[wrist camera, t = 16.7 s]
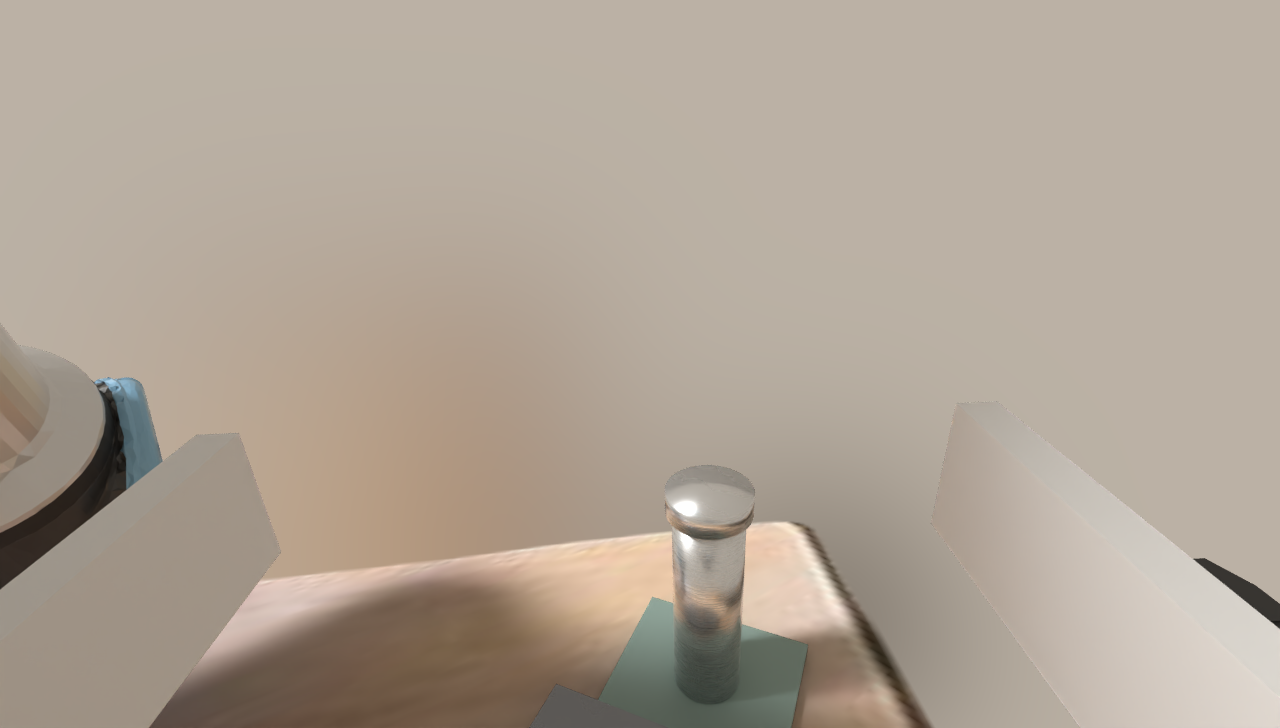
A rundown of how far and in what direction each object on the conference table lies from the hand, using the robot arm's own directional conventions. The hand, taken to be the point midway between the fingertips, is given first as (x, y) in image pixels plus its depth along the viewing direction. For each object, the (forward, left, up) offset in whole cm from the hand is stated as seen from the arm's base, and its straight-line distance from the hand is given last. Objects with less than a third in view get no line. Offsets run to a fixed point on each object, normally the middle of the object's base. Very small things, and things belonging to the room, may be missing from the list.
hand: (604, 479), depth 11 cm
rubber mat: (-4, +19, -30) cm, 36 cm away
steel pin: (-4, +19, -29) cm, 35 cm away
